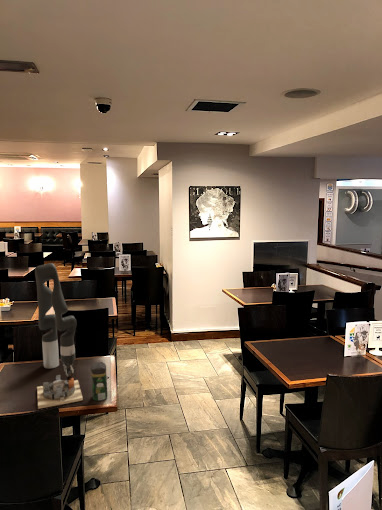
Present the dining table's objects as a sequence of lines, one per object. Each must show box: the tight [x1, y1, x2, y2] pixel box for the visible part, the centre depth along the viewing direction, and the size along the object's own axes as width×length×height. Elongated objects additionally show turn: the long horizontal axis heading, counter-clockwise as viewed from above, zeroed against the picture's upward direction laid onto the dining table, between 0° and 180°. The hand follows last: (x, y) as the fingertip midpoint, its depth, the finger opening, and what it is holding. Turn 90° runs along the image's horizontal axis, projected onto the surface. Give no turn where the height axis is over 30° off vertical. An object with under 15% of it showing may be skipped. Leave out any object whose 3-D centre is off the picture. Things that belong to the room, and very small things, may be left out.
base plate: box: [36, 379, 84, 410], centre depth 218 cm, size 22×22×7 cm
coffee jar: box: [90, 361, 108, 402], centre depth 214 cm, size 10×8×19 cm
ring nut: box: [42, 374, 75, 400], centre depth 217 cm, size 16×16×6 cm
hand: (69, 381), depth 222 cm, fingers closed
